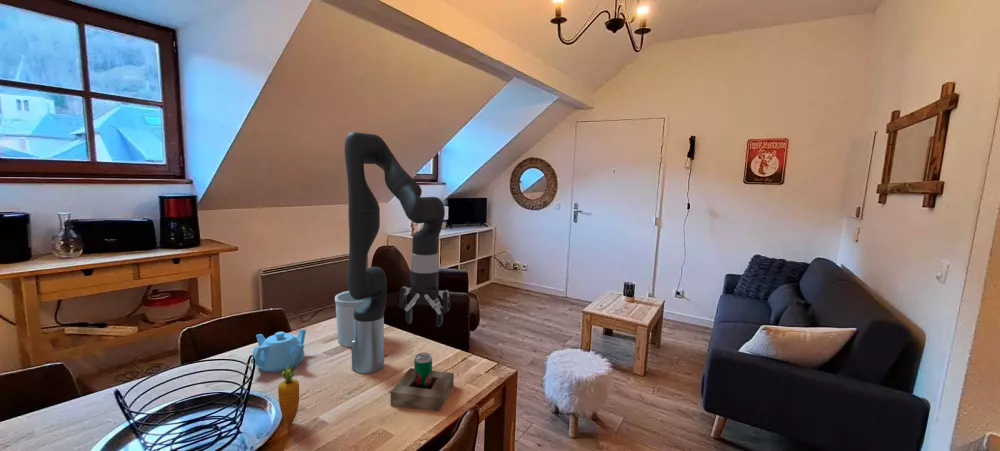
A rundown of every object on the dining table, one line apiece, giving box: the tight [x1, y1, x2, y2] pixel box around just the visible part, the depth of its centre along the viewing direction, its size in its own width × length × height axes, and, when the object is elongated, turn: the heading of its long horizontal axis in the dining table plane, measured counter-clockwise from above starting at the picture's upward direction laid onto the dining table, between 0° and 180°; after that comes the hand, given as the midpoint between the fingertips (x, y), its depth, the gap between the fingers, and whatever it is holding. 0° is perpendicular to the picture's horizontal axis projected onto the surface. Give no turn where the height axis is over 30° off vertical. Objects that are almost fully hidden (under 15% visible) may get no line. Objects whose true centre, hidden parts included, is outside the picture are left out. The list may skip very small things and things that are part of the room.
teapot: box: [250, 328, 307, 373], centre depth 132 cm, size 15×15×11 cm
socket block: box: [390, 367, 455, 413], centre depth 117 cm, size 14×14×4 cm
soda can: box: [413, 352, 433, 389], centre depth 116 cm, size 5×5×12 cm
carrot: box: [277, 367, 300, 425], centre depth 101 cm, size 5×5×15 cm
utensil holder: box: [334, 290, 365, 348], centre depth 152 cm, size 15×15×18 cm
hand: (424, 324), depth 114 cm, fingers open, 8 cm apart
